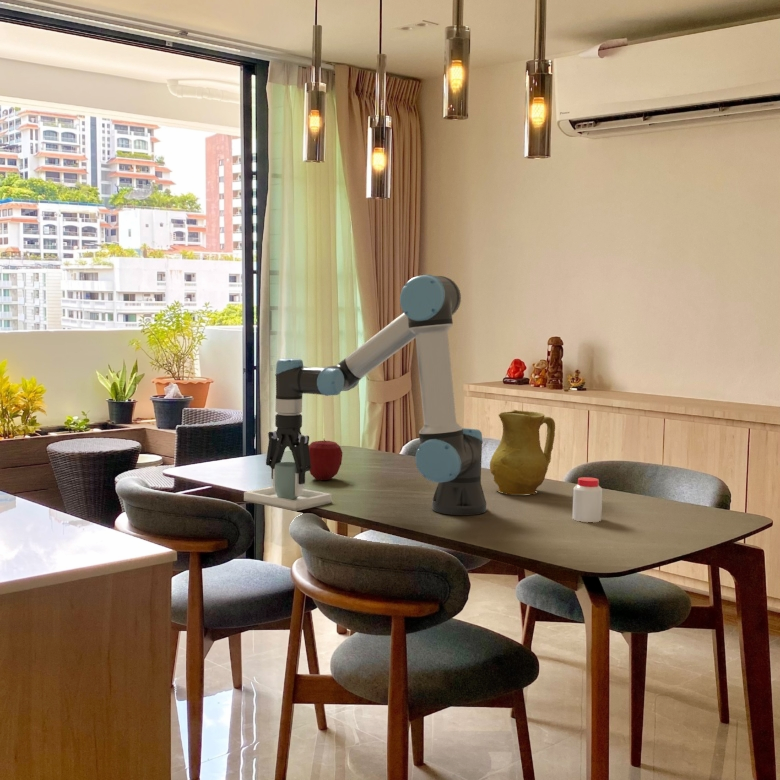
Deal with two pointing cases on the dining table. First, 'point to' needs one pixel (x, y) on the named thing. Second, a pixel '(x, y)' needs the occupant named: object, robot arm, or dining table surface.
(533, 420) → the pitcher
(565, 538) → the dining table surface
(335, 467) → the apple
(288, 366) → the robot arm
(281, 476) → the cup
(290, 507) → the tray
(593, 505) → the pill bottle
